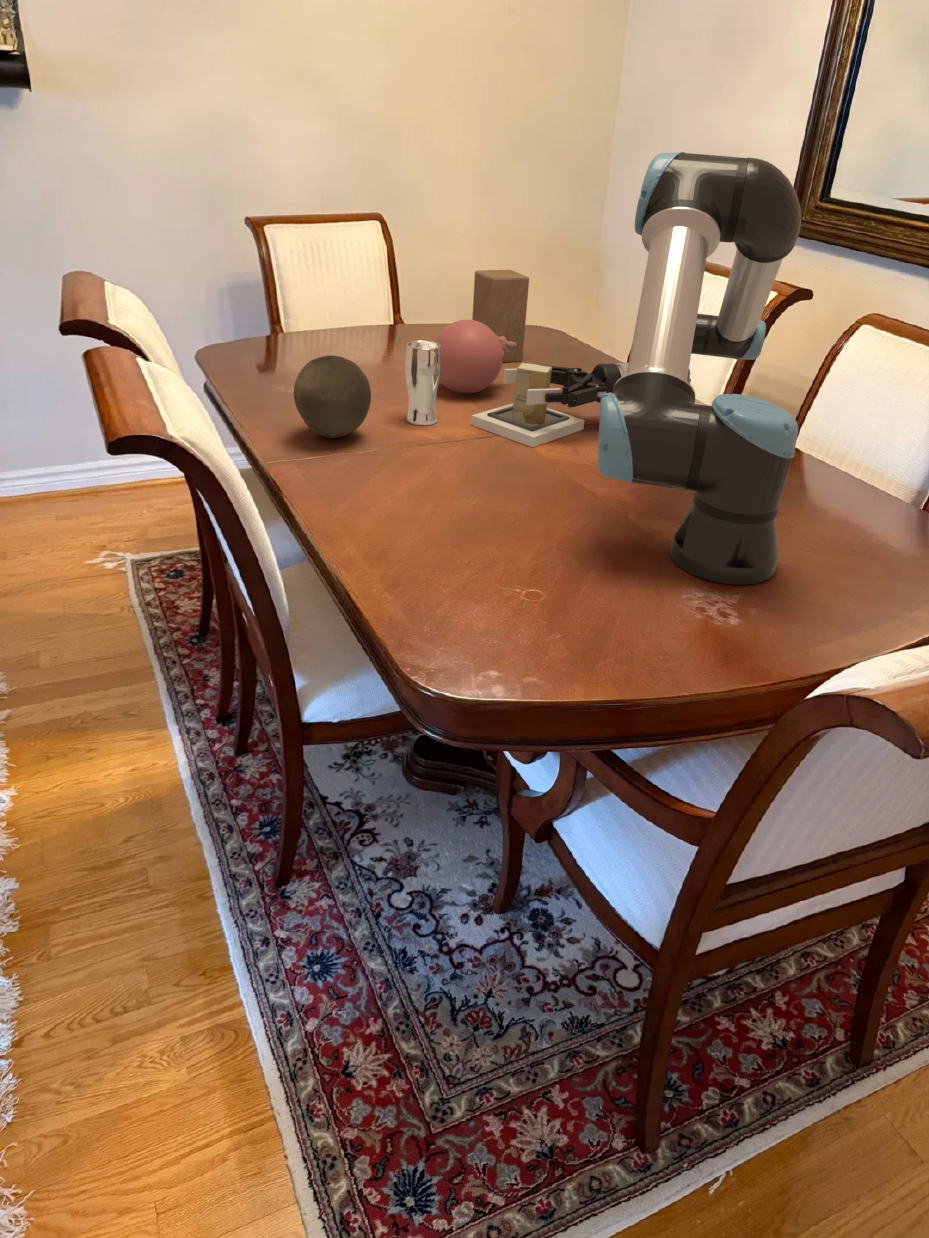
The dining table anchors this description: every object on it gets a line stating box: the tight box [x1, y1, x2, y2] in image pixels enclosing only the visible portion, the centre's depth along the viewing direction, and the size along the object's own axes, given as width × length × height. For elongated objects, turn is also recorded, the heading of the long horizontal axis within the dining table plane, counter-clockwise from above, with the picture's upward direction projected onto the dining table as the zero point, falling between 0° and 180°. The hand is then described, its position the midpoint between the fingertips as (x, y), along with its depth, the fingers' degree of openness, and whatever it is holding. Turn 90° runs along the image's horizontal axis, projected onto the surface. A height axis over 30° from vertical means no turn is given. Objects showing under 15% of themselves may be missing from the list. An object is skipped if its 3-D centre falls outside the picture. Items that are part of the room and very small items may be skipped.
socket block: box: [470, 402, 585, 448], centre depth 170 cm, size 16×16×2 cm
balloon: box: [434, 319, 517, 395], centre depth 186 cm, size 15×20×15 cm
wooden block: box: [471, 269, 530, 364], centre depth 209 cm, size 10×10×20 cm
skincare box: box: [512, 362, 552, 427], centre depth 168 cm, size 6×4×12 cm
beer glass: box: [404, 339, 441, 426], centre depth 167 cm, size 7×7×15 cm
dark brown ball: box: [293, 355, 372, 439], centre depth 156 cm, size 14×14×15 cm
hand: (515, 386), depth 166 cm, fingers open, 13 cm apart
